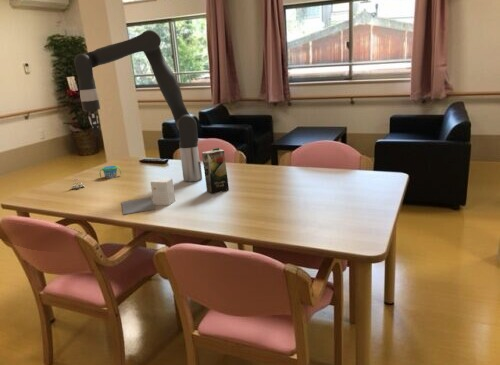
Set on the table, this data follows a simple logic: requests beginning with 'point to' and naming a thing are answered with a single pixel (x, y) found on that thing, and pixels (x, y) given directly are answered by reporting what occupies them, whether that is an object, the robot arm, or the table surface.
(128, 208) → the mat
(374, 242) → the table surface
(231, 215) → the table surface
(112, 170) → the snack cup
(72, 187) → the house of cards
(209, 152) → the juice carton
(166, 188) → the small box
